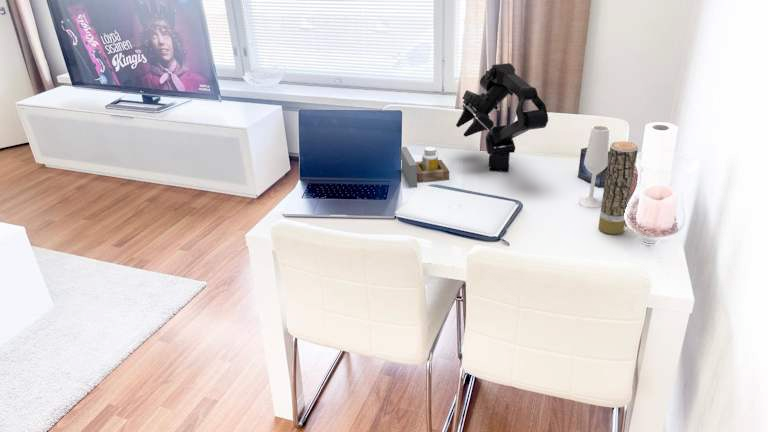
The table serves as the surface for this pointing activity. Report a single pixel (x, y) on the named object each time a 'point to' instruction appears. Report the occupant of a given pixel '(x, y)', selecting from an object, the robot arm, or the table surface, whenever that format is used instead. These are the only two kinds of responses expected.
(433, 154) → the supplement bottle
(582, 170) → the small box
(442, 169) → the walnut socket block
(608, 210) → the bark print cylinder
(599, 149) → the champagne flute
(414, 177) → the grey backstop board
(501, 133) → the robot arm
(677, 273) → the table surface
